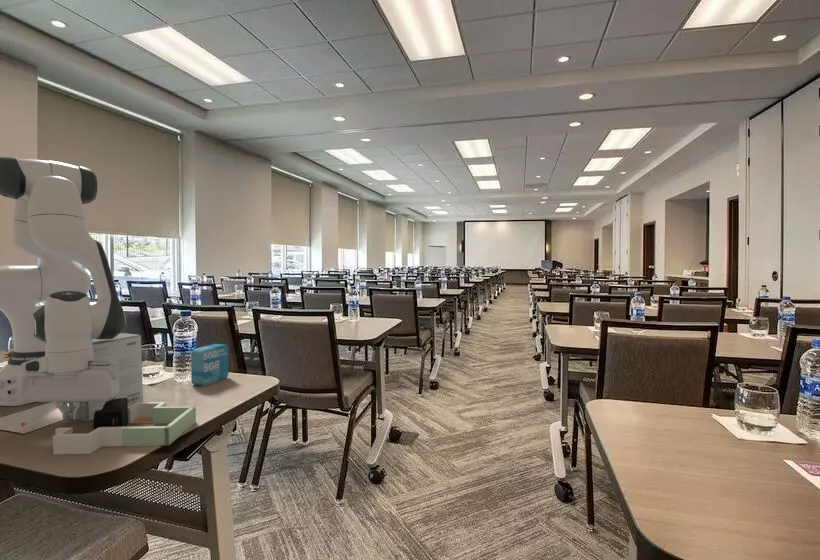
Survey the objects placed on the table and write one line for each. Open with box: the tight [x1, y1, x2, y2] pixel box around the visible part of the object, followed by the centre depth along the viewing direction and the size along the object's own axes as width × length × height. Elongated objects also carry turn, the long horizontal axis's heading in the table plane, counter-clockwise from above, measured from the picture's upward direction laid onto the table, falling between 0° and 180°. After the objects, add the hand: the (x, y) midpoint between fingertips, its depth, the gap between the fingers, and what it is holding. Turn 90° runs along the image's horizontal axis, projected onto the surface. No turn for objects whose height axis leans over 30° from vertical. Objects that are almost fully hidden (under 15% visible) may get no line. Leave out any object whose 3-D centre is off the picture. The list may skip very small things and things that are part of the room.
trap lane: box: [52, 401, 197, 455], centre depth 102 cm, size 24×21×4 cm
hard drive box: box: [68, 332, 144, 422], centre depth 116 cm, size 16×8×20 cm, turn 159°
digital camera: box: [92, 398, 129, 430], centre depth 101 cm, size 10×5×7 cm, turn 28°
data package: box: [190, 343, 229, 387], centre depth 144 cm, size 12×4×12 cm, turn 161°
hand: (71, 419), depth 100 cm, fingers closed
